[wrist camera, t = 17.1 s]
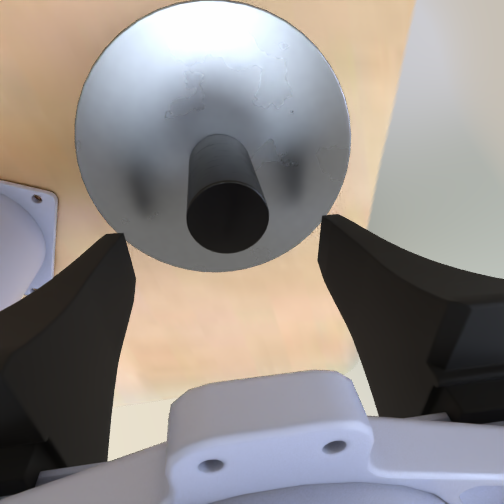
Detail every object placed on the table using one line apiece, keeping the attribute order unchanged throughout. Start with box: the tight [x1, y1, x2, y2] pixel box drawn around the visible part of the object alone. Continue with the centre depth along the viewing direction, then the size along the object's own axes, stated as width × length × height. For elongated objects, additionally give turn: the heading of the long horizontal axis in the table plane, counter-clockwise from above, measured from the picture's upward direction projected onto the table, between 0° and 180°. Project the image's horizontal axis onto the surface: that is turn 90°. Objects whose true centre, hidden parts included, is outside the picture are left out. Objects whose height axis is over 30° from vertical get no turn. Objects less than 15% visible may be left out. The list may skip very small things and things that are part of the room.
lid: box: [75, 0, 351, 272], centre depth 12 cm, size 11×11×6 cm
